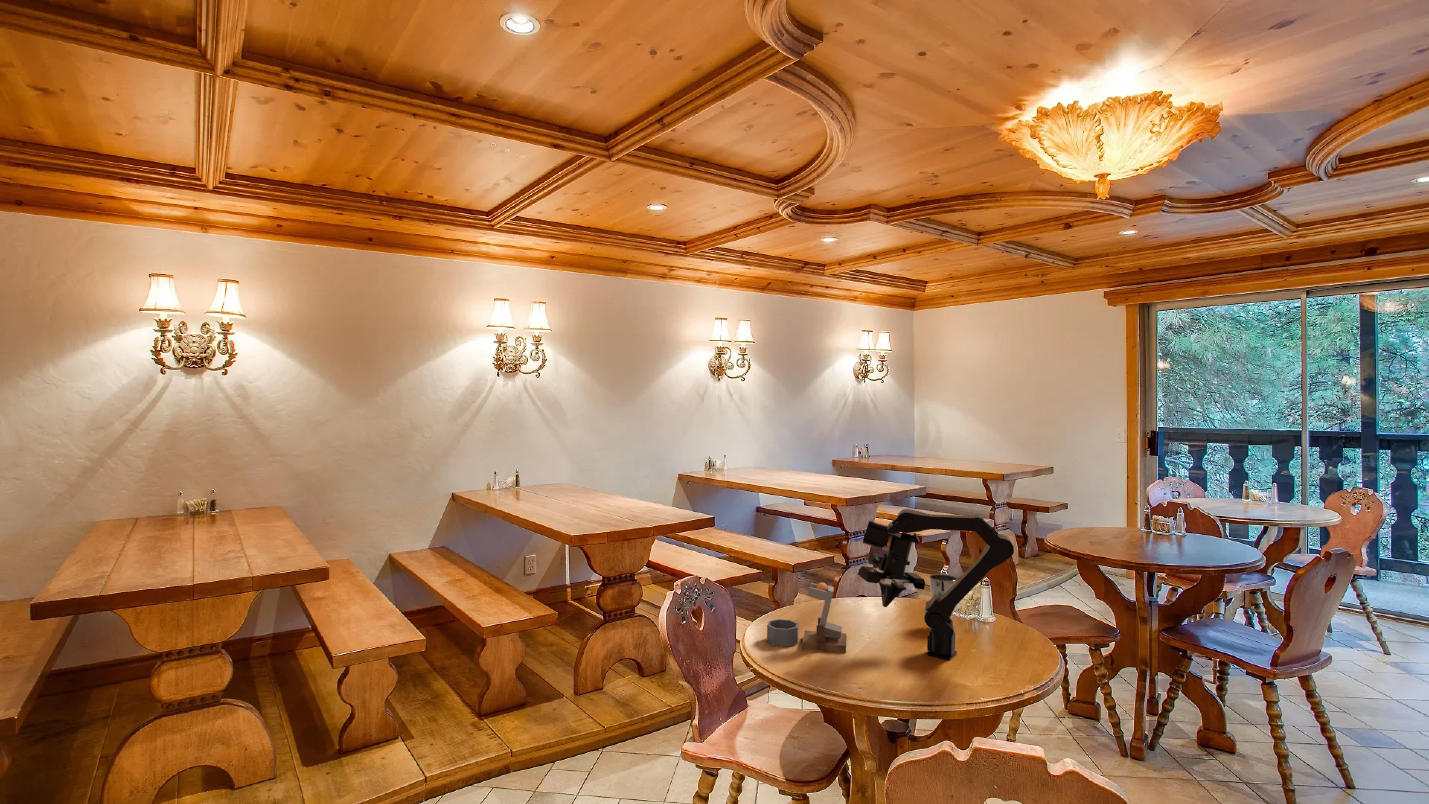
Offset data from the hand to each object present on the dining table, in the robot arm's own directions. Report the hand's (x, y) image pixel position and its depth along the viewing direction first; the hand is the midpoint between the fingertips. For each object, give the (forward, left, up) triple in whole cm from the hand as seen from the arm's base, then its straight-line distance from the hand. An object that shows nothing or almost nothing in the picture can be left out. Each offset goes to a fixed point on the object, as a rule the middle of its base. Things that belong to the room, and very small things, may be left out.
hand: (884, 606), depth 201 cm
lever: (+16, +9, -8) cm, 20 cm away
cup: (+25, +13, -12) cm, 31 cm away
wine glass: (-7, -29, -12) cm, 32 cm away
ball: (+15, +9, +4) cm, 18 cm away
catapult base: (+15, +9, -12) cm, 21 cm away
